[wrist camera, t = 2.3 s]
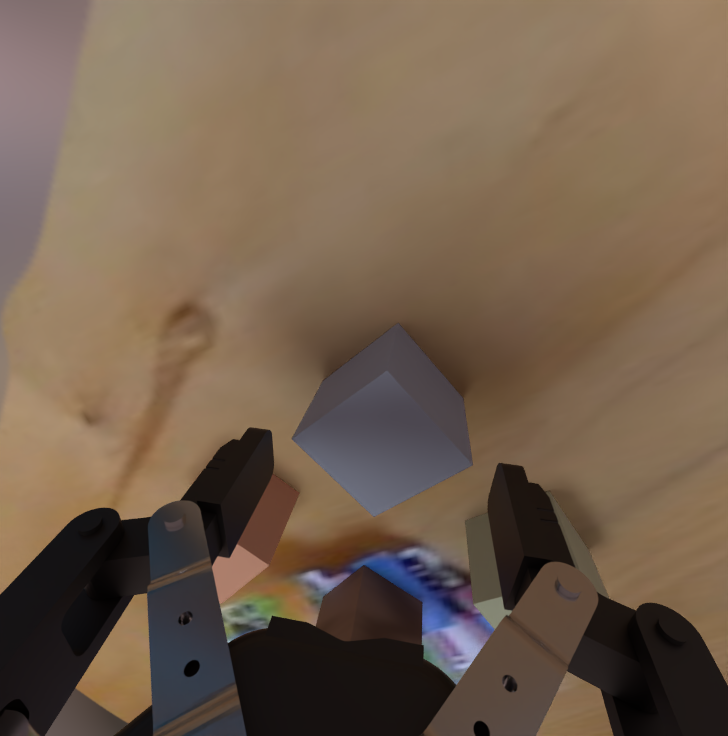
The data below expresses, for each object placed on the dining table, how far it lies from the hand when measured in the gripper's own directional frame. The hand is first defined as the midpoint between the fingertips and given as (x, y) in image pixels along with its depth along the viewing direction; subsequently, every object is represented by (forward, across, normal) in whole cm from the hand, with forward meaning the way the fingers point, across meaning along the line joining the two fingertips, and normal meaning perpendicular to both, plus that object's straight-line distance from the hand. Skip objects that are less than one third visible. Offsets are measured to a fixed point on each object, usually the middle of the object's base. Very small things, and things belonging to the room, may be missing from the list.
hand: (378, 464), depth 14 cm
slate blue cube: (+6, 0, 0) cm, 6 cm away
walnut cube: (+6, 0, +17) cm, 18 cm away
